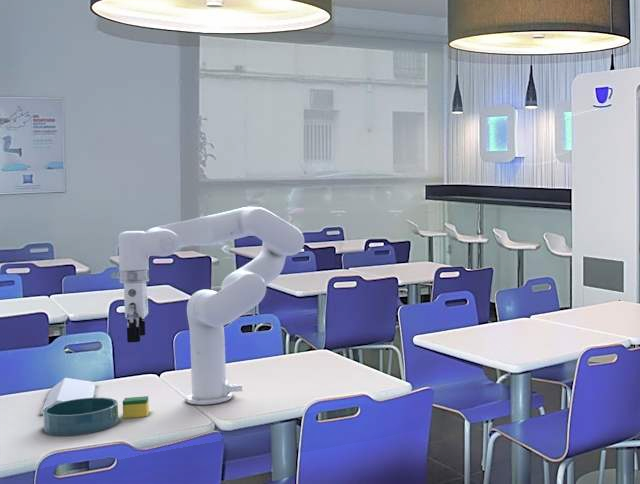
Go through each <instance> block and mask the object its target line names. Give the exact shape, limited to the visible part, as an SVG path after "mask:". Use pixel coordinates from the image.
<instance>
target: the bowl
mask: <svg viewBox="0 0 640 484" xmlns="http://www.w3.org/2000/svg"><path fill="white" fill-rule="evenodd" d="M42 417H43V418H42V421H43V431H44V433H46V434H48V435H53V436H78V435H85V434H93V433H96V432H100V431H104V430H107V429H110V428H112V427H113V426H115V425H117V424H118V422H119V404H118V401H117V399H114V398H109V397H93V398H82V399H74V400H69V401H64V402H60V403H56V404H53V405H51V406H49V407H46V408H45V409H44V410H43V414H42Z"/></svg>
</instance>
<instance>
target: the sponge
mask: <svg viewBox="0 0 640 484" xmlns="http://www.w3.org/2000/svg"><path fill="white" fill-rule="evenodd" d="M149 406H150V405H149V395H147V396H145V395H143V396H133V397H124V399H123V400H122V418H123V419H129V418H131V419H132V418H143V417H144V418H145V417H147V416H148V415H149V413H150V408H149Z"/></svg>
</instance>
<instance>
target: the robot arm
mask: <svg viewBox="0 0 640 484" xmlns="http://www.w3.org/2000/svg"><path fill="white" fill-rule="evenodd" d="M247 237H256V238H257V239H259V240H261V241H262V244H261V245H262V246H261V250H260V251H259V254H258V255H257V256H256V257H254V258H253V259H252V260H251V261H249V262H247V263H245V264H244V265H242V266H241V267H239V268H238V269H236V270H234V271H233V272H231V273H229V274H227V275H226V276H225V277H224V278H223V280H222V282H221V286H220V290H218V291H216V290H212V289H200V290H197V291H195V292H194V293H193V294H191V295H190V297H189V299H188V301H187V304H186V317H187V322H188V326H189V327H188V329H189V341H190V342H189V345H190V346H189V348H190V373H191V377H190V378H191V394H188V395H187V396H186V397H185V398H186V402H187V403H188V404H190V405H198V406H199V405H200V406H201V405H202V406H203V405H215V404H220V403H224V402H228V401H229V400H231V399H232V398H233V393H241V392H243V384H239V383H235V384H231V383H229V381H228V379H227V367H226V335H225V328H224V326H226V325H229V324H230V323H232V322H233V321H235V320H237V319H238V318H240V317H241V316H243V315H244V314H246V313H247V312H250V311H251V310H252V309H254V308H255V307H256V306H257V305H259V304H260V303H261V302H262V301H263V299H264V298H265V296H266V293H267V285H269V284H270V283H272V282H273V281H274V280H276V279H277V278H278V277H279V275H281V273H282V271H283V270H284V266H285V264H286V260H287V257H289V256H290V257H292V256H295V255H298V254H299V253H300V252H301V251H302V250H303V249H304V246H305V236H304V234H303V232H302V231H301V230H300V229H299V228H298V227H296V226H294V225H293V224H291V223H290V222H288V221H287V220H284V219H283V218H281V217H280V216H278V215H276V214H275V213H273V212H272V211H269V210H268V209H266V208H264V207H258V206H245V207H241V208H235V209H232V210H227V211H223V212H219V213H214V214H209V215H206V216H199V217H195V218H191V219H187V220H182V221H177V222H172V223H167V224H163V225H159V226H156V227H155V226H154V227H151V228H149V229H146V231H144V230H128V231H121V232H120V233H119V234H118V237H117V243H118V244H117V245H118V269H119V271H118V272H119V283H120V284H123V299H124V300H123V301H124V302H123V303H124V304H123V305H124V317H125V319H126V320H127V321H126V322H127V323H126V338H127V339H126V340H127V343H140V341H141V337H142V336H146V320H145V319H146V317H147V316H148V315H149V299H148V288H147V282H150V269H149V268H150V267H149V266H150V264H149V261H150V260H149V257H169V256H172V255H174V254H175V253H176V252H177V251H178V249H182V248H186V247H195V246H196V247H200V246H202V247H204V246H205V247H207V246H213V245H214V246H215V245H218V244H222V243H226V242H230V241H234V240H238V239H243V238H247Z"/></svg>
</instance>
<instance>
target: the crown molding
mask: <svg viewBox="0 0 640 484" xmlns="http://www.w3.org/2000/svg"><path fill="white" fill-rule="evenodd" d="M95 391H96V384H95V383H94V382H93V381H91V380H83V379H77V378H71V377H70V378H69V377H64V378H62V379H61V380H60V381H59V382H58V383H56V384H55V385H54V386H52V387H51V388H50V390H49V391H48V394H47V397H46V399H45V402H44V404H43V406H42V407H41V408H42V409H41V410H40V416H43V410H44V409H45V408H46V407H49V406H51V405H53V404H56V403H60V402H64V401H69V400H74V399H82V398H94V395H95Z"/></svg>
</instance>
